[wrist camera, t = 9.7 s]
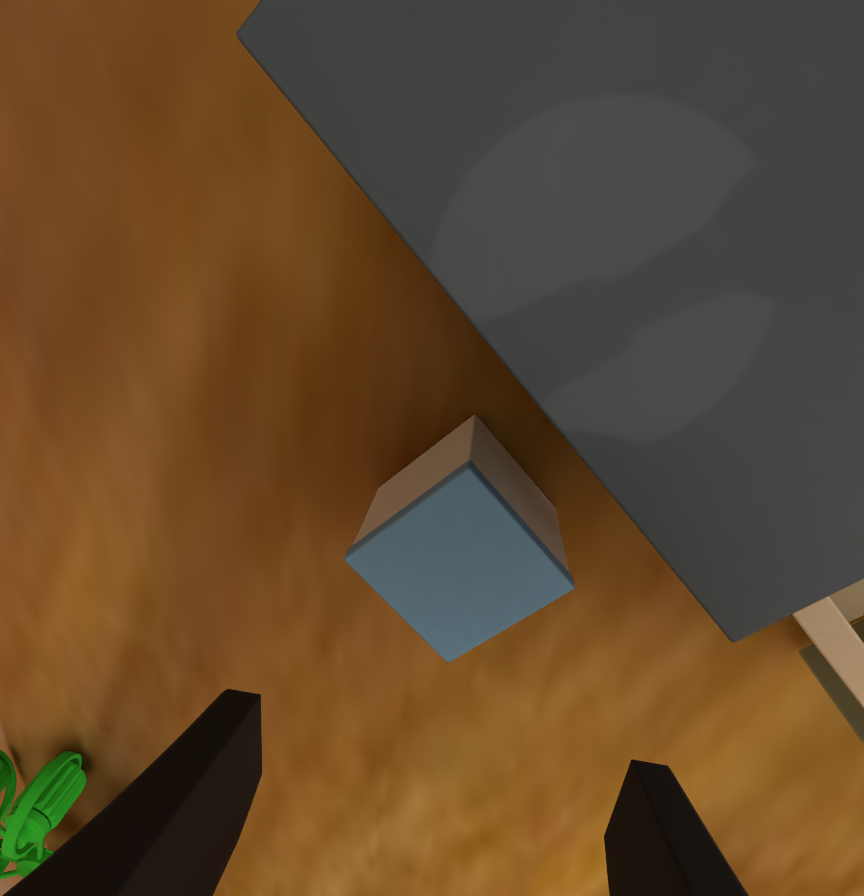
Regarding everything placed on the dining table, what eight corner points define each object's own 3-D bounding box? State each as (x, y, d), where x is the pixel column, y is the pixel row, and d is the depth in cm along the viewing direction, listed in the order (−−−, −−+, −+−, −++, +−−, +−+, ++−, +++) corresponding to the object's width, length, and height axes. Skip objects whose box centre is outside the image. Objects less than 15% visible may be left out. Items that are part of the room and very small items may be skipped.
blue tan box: (558, 508, 19) (576, 589, 15) (457, 574, 20) (448, 664, 16) (475, 411, 18) (468, 467, 14) (376, 487, 19) (342, 559, 15)
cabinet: (1007, 232, 14) (1564, 236, 7) (634, 471, 18) (733, 645, 11) (742, -279, 12) (1206, -1233, 4) (363, 129, 15) (232, 33, 8)
